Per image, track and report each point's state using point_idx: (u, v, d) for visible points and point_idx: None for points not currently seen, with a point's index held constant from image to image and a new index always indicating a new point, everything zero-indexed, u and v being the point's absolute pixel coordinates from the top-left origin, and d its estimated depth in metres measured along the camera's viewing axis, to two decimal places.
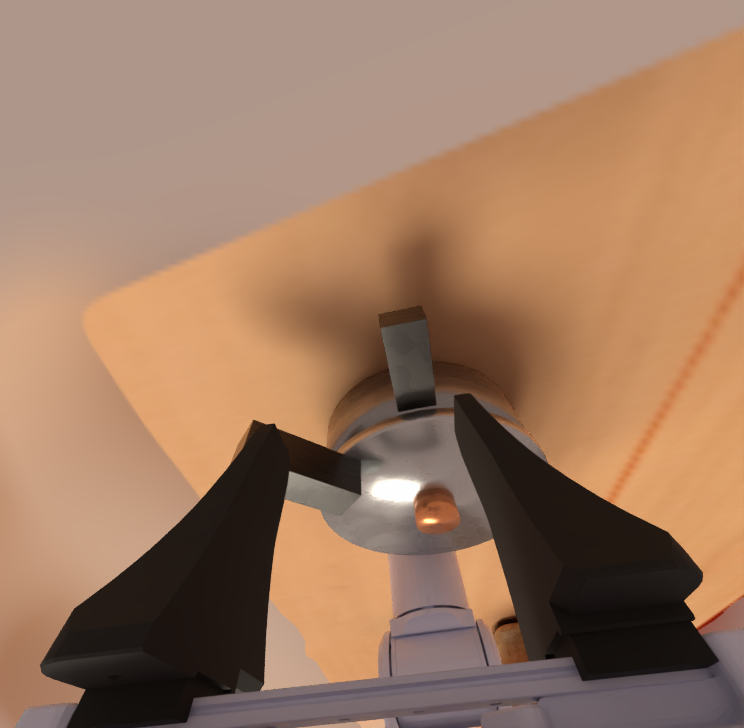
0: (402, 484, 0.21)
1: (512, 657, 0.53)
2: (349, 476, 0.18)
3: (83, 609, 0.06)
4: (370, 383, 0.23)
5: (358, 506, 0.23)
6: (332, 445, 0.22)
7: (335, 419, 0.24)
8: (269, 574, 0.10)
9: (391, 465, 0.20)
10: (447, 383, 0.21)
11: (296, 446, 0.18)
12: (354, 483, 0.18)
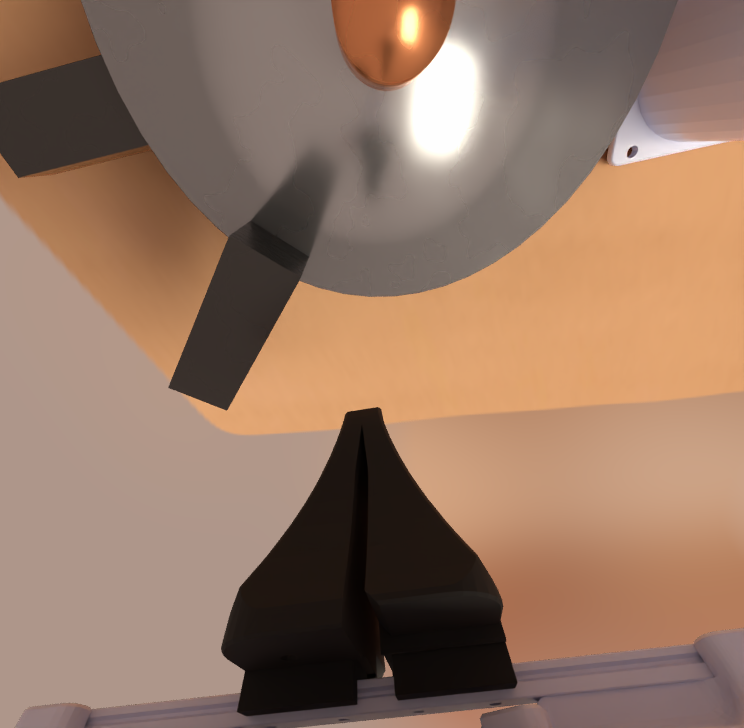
0: (316, 126, 0.10)
1: None
2: None
3: (251, 588, 0.06)
4: None
5: (387, 227, 0.12)
6: None
7: None
8: None
9: (256, 156, 0.10)
10: None
11: None
12: None
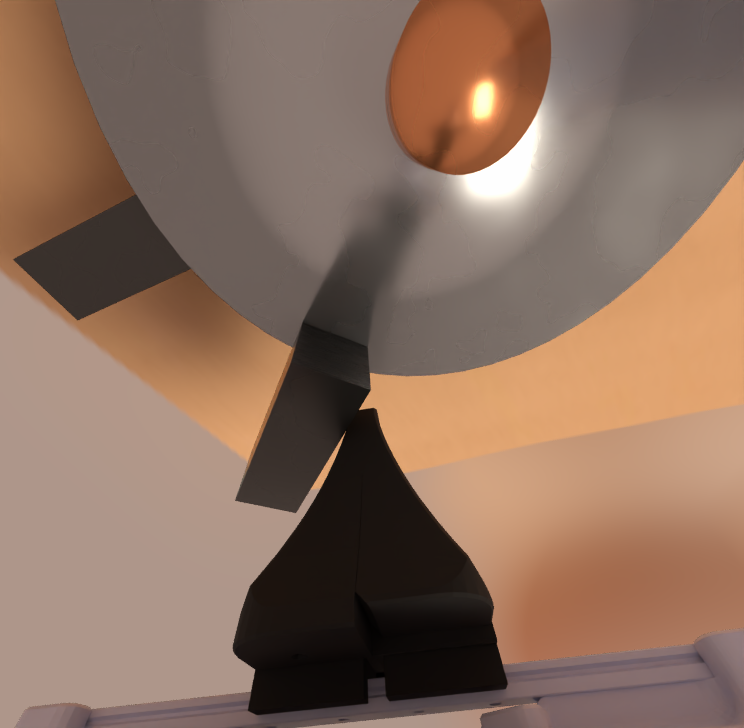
0: (370, 219, 0.09)
1: None
2: (287, 364, 0.10)
3: (262, 586, 0.06)
4: None
5: (454, 306, 0.10)
6: None
7: None
8: None
9: (305, 260, 0.09)
10: None
11: (264, 422, 0.12)
12: (289, 362, 0.09)
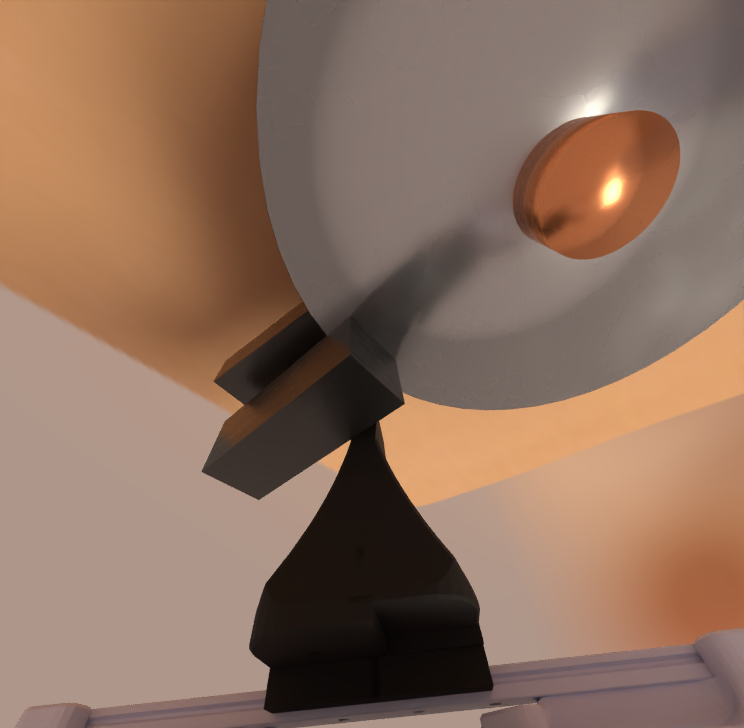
0: (458, 253, 0.09)
1: None
2: (330, 352, 0.09)
3: (277, 584, 0.06)
4: None
5: (484, 351, 0.11)
6: None
7: None
8: None
9: (384, 262, 0.09)
10: None
11: (262, 398, 0.11)
12: (338, 352, 0.09)
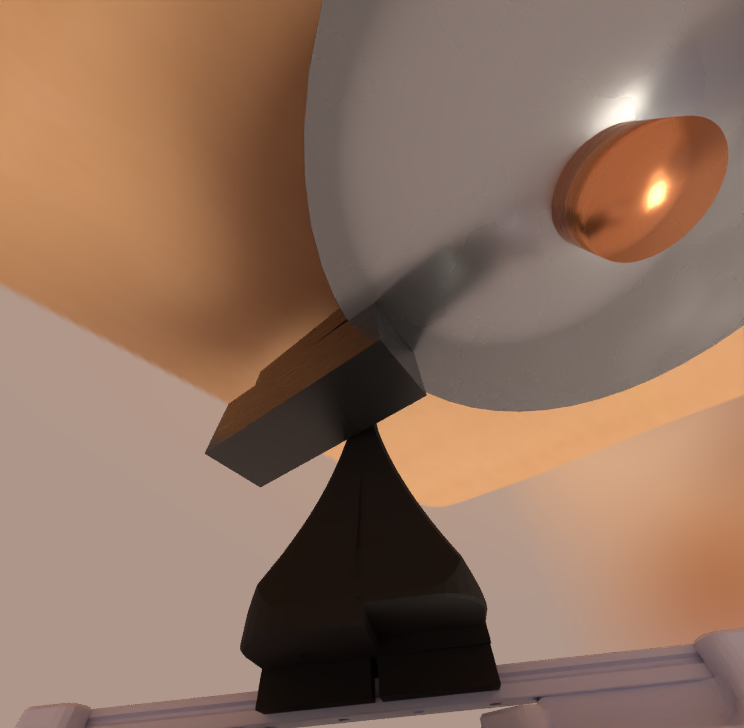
0: (492, 247, 0.09)
1: None
2: (355, 337, 0.09)
3: (269, 585, 0.06)
4: None
5: (502, 351, 0.11)
6: None
7: None
8: None
9: (417, 249, 0.09)
10: None
11: (274, 381, 0.11)
12: (365, 337, 0.09)
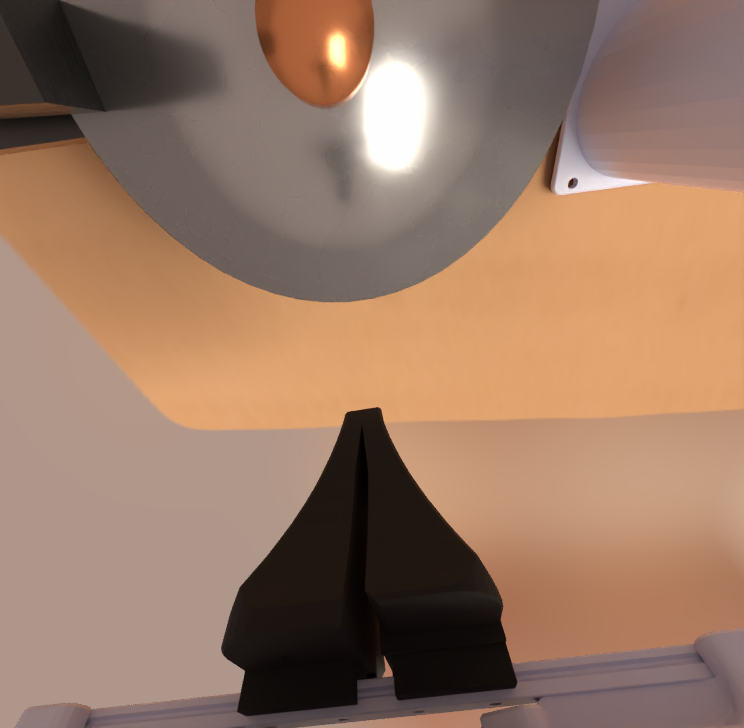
0: (206, 26, 0.09)
1: None
2: None
3: (251, 588, 0.06)
4: None
5: (209, 177, 0.11)
6: None
7: None
8: None
9: None
10: None
11: None
12: None
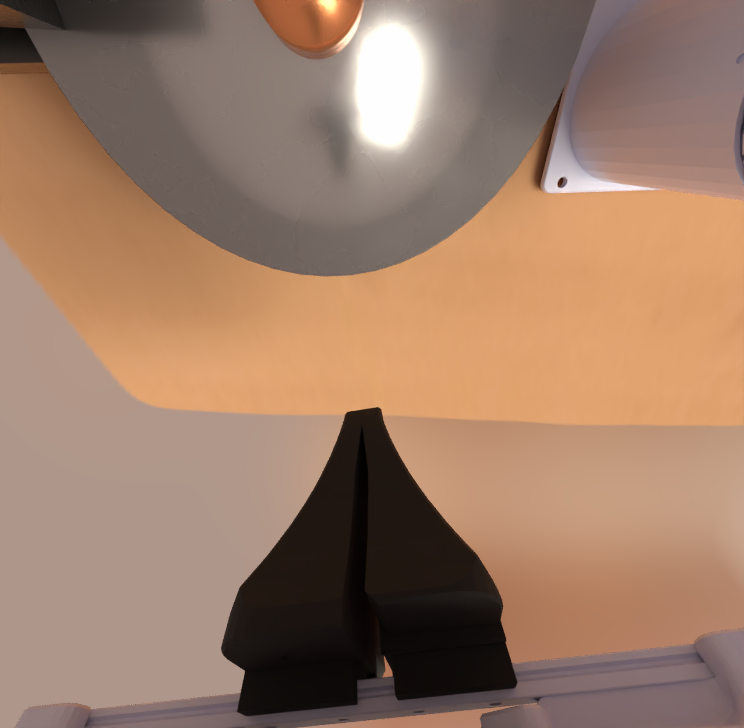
0: None
1: None
2: None
3: (251, 588, 0.06)
4: None
5: (181, 121, 0.10)
6: None
7: None
8: None
9: None
10: None
11: None
12: None
